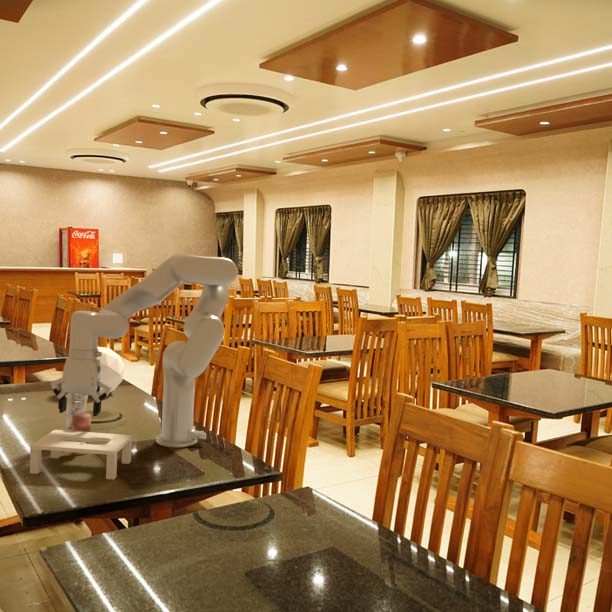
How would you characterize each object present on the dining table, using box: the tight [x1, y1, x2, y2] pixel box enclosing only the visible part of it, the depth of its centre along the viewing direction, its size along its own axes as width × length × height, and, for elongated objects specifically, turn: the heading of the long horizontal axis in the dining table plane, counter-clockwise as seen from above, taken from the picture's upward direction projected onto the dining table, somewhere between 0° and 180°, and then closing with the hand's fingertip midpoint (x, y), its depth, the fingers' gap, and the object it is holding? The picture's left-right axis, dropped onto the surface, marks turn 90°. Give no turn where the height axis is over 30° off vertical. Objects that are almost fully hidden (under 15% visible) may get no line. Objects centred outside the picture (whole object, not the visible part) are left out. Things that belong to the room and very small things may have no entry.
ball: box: [97, 346, 125, 395], centre depth 244 cm, size 19×20×20 cm
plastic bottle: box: [63, 393, 89, 442], centre depth 182 cm, size 6×7×20 cm
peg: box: [72, 412, 92, 456], centre depth 175 cm, size 5×5×11 cm
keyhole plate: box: [29, 429, 133, 480], centre depth 164 cm, size 22×14×8 cm, turn 88°
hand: (79, 413), depth 174 cm, fingers open, 9 cm apart
